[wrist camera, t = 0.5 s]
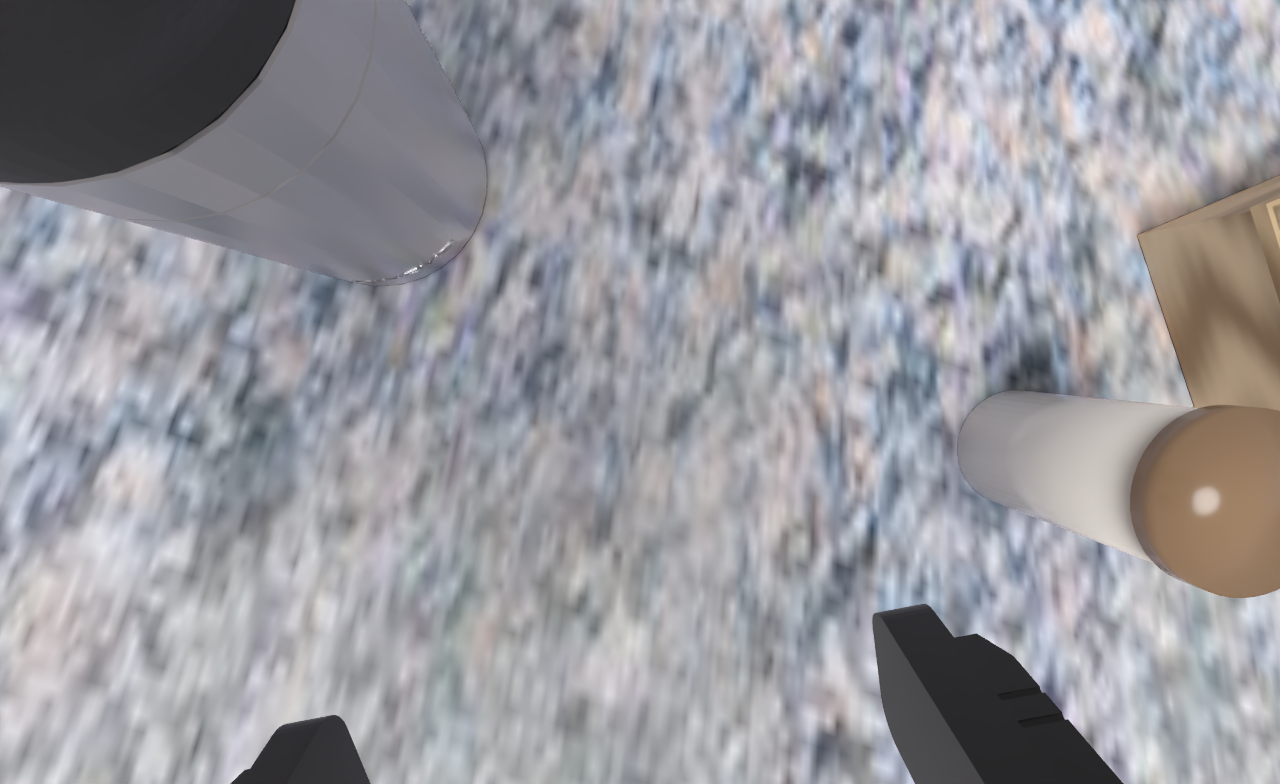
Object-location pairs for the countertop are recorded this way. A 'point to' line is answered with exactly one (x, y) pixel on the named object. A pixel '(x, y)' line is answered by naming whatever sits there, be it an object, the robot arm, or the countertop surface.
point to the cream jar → (1139, 480)
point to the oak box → (1223, 296)
